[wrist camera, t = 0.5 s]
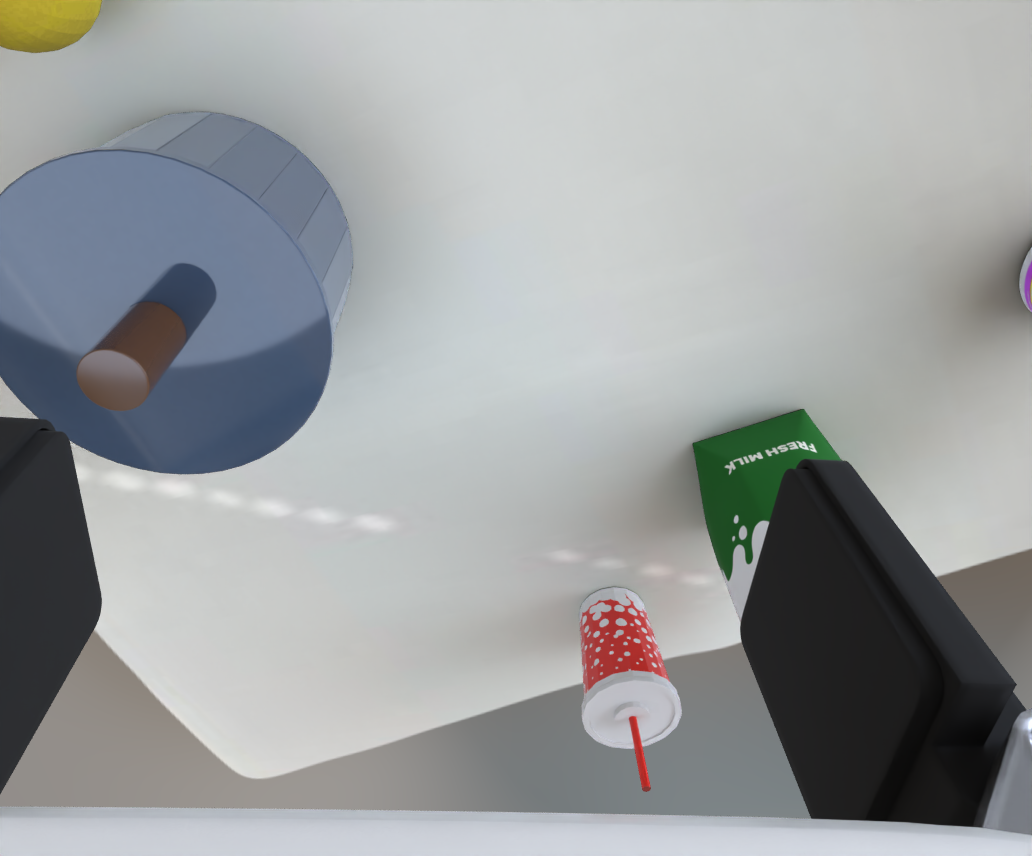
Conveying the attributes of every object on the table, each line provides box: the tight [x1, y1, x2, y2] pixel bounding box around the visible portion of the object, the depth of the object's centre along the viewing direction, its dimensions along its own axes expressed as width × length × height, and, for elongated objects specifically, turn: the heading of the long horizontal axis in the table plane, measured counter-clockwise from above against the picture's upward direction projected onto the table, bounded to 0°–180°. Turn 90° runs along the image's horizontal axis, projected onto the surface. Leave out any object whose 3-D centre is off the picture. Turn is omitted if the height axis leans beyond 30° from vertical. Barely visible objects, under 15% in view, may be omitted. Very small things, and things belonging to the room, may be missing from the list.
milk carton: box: [693, 409, 842, 622], centre depth 43 cm, size 9×9×20 cm
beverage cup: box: [579, 587, 682, 792], centre depth 52 cm, size 6×6×14 cm
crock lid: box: [0, 147, 334, 474], centre depth 33 cm, size 15×15×6 cm
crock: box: [97, 112, 353, 332], centre depth 39 cm, size 14×14×10 cm
